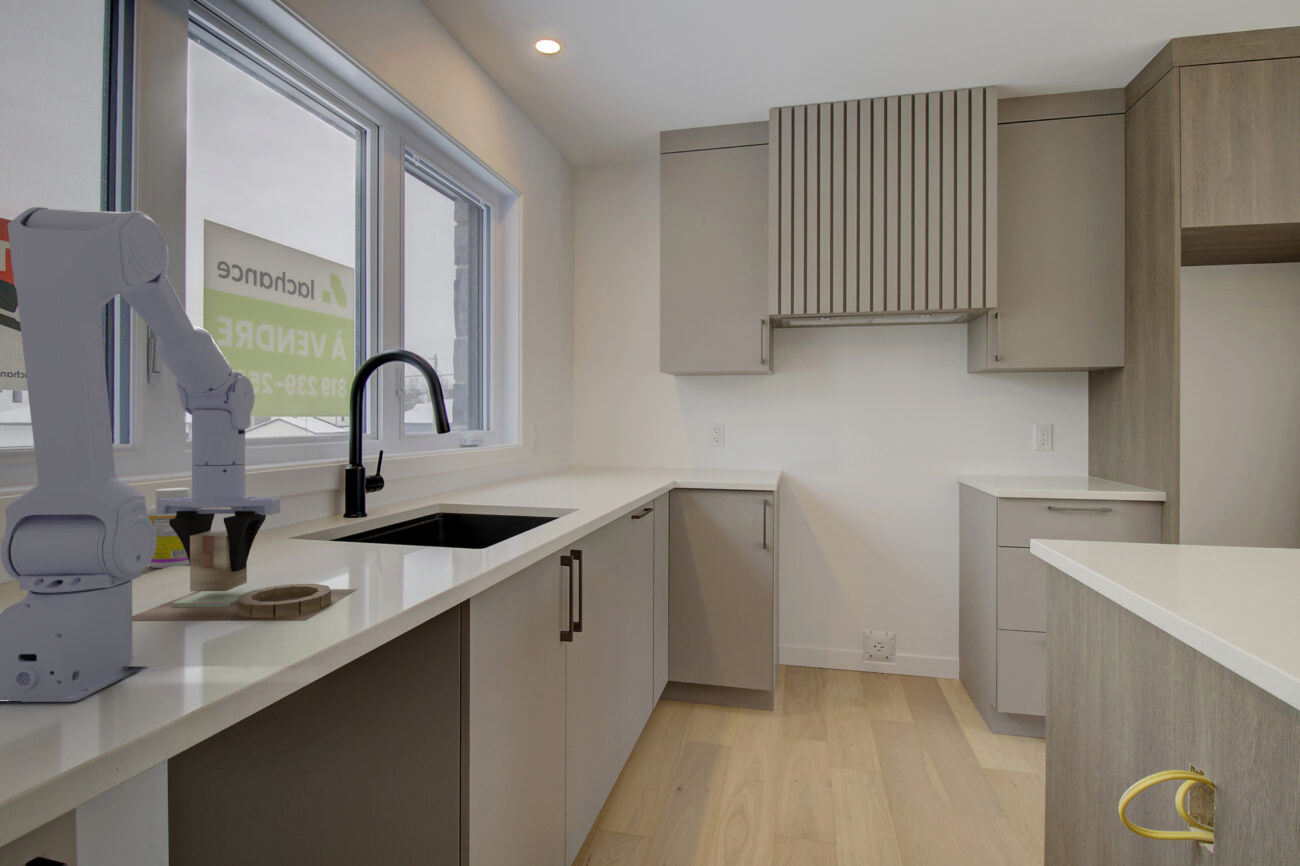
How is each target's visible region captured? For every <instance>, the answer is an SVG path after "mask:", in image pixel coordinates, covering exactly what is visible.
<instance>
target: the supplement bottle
mask: <svg viewBox="0 0 1300 866" xmlns="http://www.w3.org/2000/svg"><path fill="white" fill-rule="evenodd" d="M190 495H191V488H190V487H168V488H157V489H155V492H154V496H155V498H156V500H157V499H163V498H186V497H190ZM147 513H148V516H149V518H150V520H151V522H152V524H153V526H154V528H155V531H156V539H157V541H156V549H155V553H154V555H153V558H152V560H151V561H150V563H149V564H148V566H149V567H151V568H152V569H165V568H166V569H167V568H169V567H174V566H175V567H179V566H180V567H186V566H190V563H189V560H188V557H187V554H186V551H185V549H184V546H183V544H182V542H181V540H180V539H179V537H178V535H177V534H176V532H175V531H174V530H173V528H172V527H171V526H170V525H169V520H170V519H173V518H175V516H176V514H156V503H155V504H153V505H152V506H150V507H149V508H148V510H147Z"/></svg>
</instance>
